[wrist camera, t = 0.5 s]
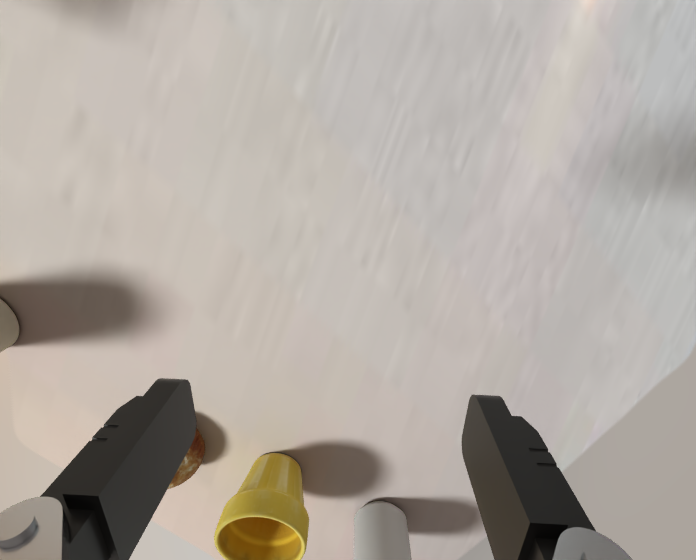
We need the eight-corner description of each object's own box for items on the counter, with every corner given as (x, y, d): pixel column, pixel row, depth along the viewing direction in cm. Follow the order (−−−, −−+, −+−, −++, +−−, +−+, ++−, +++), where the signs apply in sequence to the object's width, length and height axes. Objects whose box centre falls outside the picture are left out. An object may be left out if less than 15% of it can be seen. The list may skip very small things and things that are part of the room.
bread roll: (152, 435, 53) (129, 498, 47) (114, 405, 45) (82, 476, 40) (219, 434, 52) (203, 497, 47) (192, 403, 45) (170, 475, 39)
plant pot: (300, 505, 52) (287, 584, 43) (231, 483, 51) (203, 560, 42) (326, 456, 48) (319, 531, 39) (252, 431, 47) (227, 503, 38)
